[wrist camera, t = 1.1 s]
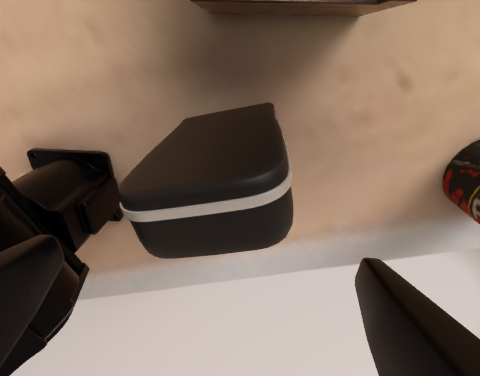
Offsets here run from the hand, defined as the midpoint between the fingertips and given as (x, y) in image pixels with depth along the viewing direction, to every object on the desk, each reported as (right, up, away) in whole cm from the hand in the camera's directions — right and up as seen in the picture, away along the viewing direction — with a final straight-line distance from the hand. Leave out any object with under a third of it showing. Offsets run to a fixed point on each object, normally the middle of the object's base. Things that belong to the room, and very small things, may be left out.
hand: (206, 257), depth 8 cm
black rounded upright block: (0, +6, +12) cm, 13 cm away
